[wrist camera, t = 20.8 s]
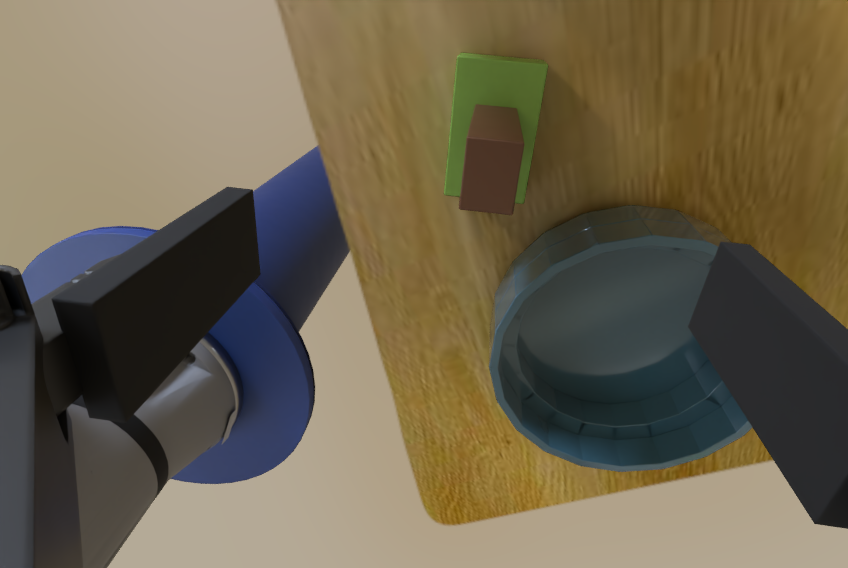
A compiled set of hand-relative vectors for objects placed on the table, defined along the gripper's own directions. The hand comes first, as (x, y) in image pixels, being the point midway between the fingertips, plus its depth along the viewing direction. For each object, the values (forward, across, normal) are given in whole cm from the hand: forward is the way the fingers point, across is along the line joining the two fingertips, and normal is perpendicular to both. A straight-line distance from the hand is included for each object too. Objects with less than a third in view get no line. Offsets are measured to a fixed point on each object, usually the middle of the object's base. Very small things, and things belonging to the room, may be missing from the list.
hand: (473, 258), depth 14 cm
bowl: (+20, +12, -13) cm, 26 cm away
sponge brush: (+20, +1, 0) cm, 20 cm away
